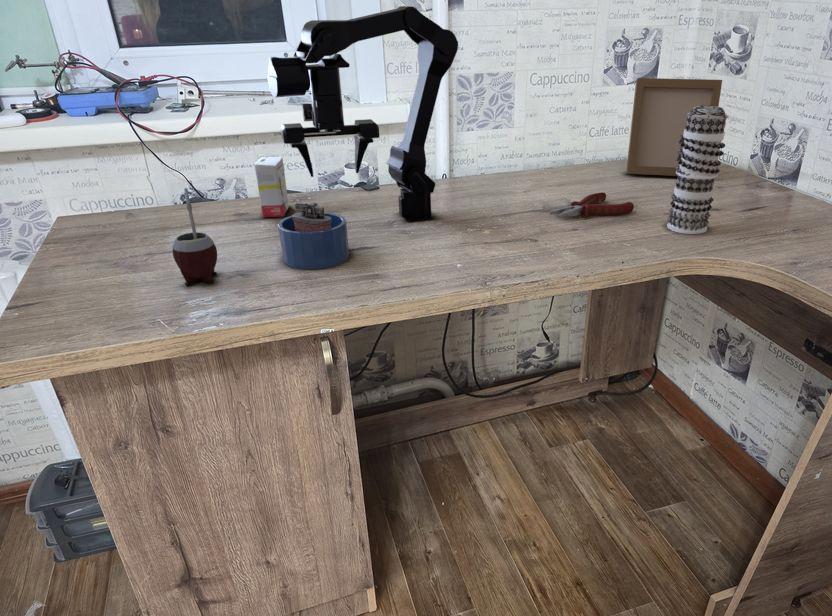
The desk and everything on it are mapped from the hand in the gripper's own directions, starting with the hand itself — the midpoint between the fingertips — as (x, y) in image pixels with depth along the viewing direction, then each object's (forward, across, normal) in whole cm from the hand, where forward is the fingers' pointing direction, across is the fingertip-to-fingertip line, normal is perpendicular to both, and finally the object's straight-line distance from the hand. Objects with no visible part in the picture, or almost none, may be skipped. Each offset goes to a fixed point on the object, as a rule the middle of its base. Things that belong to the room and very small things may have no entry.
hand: (334, 174), depth 129 cm
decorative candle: (+12, -72, +23) cm, 77 cm away
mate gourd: (+12, +28, +18) cm, 35 cm away
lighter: (+12, +7, +14) cm, 19 cm away
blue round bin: (+12, +7, +14) cm, 20 cm away
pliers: (+12, -57, +5) cm, 58 cm away
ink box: (+12, +12, -18) cm, 25 cm away
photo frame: (+12, -96, -20) cm, 99 cm away
